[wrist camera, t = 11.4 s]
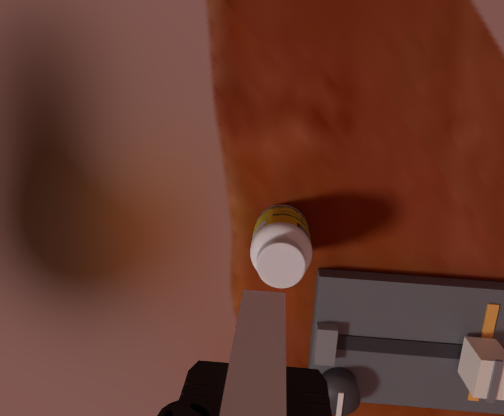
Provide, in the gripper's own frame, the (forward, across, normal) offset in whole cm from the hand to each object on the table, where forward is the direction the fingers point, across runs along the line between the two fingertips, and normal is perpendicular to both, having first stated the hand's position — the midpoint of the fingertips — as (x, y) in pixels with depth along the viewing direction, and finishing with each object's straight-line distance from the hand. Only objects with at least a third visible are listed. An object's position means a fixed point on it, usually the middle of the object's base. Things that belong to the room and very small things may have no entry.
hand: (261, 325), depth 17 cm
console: (+29, +17, -17) cm, 38 cm away
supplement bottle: (+30, +1, -6) cm, 30 cm away
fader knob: (+27, +21, -17) cm, 38 cm away
